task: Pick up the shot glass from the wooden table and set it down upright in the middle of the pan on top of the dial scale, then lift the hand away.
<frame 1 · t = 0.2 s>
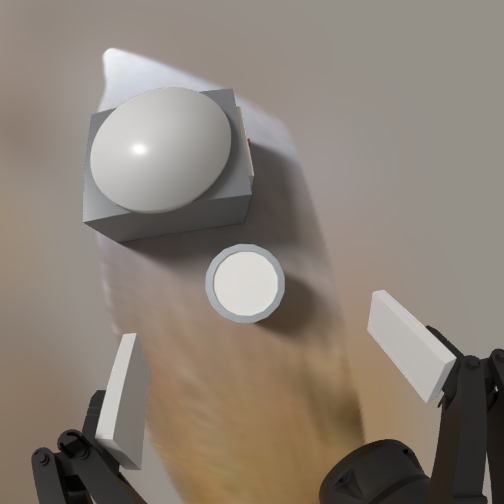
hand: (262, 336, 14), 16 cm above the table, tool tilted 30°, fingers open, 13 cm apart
shot glass: (240, 287, 31), on the table
dial scale: (174, 184, 32), on the table
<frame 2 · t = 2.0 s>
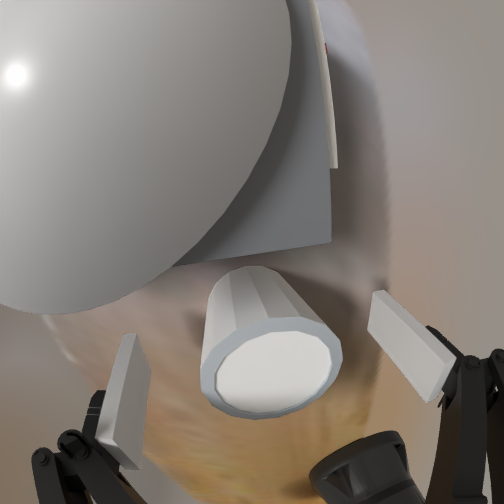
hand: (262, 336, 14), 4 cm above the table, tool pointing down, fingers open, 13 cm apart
shot glass: (250, 302, 18), on the table
dial scale: (123, 113, 13), on the table
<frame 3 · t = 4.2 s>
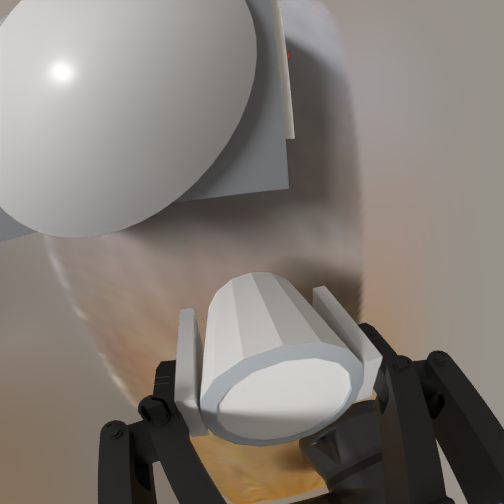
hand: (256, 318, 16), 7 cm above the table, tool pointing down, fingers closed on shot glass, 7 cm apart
shot glass: (255, 313, 16), point 6 cm above the table, touching gripper
dial scale: (136, 101, 16), on the table
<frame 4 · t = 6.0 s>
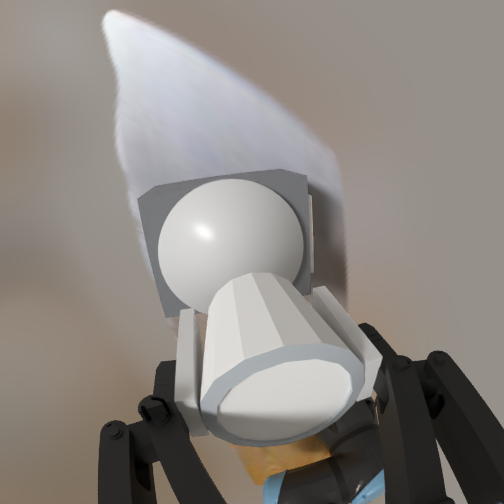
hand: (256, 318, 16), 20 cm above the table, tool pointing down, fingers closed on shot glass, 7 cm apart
shot glass: (255, 313, 16), point 19 cm above the table, touching gripper
dial scale: (224, 225, 34), on the table
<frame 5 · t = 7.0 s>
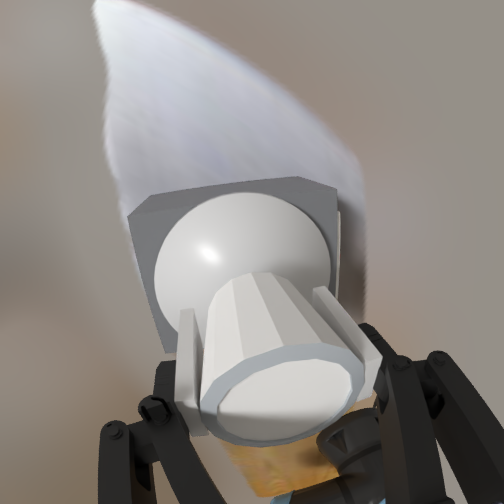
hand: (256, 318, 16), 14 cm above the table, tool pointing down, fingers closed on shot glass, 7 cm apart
shot glass: (255, 313, 16), point 14 cm above the table, touching gripper
dial scale: (231, 241, 29), on the table
when the fingers open (11 cm above the table, at t = 8.1 s): shot glass stays where it is, resting on dial scale.
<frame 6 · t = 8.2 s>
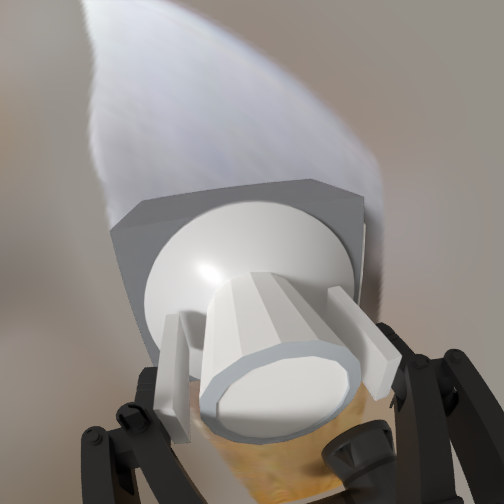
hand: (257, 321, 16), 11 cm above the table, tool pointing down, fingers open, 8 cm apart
shot glass: (254, 312, 16), point 10 cm above the table, touching dial scale
dial scale: (235, 253, 26), on the table
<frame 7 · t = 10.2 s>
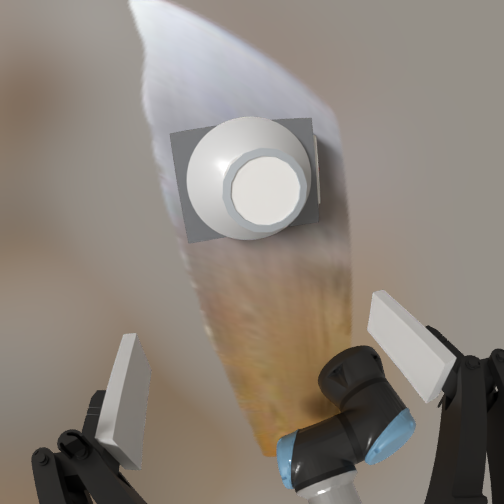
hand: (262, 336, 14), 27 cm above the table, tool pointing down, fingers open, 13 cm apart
shot glass: (250, 179, 28), point 10 cm above the table, touching dial scale
dial scale: (238, 170, 37), on the table
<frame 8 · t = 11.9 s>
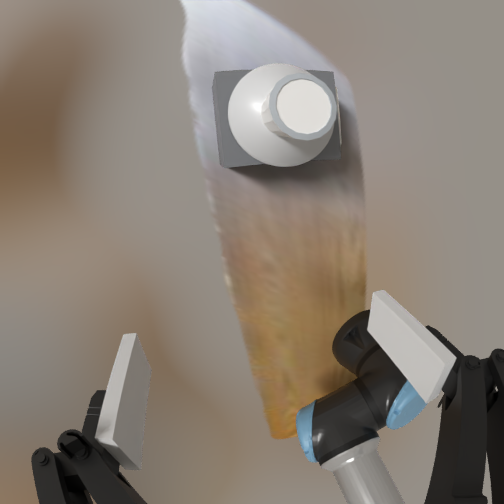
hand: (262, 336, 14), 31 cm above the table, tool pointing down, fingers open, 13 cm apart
shot glass: (283, 113, 30), point 10 cm above the table, touching dial scale
dial scale: (265, 121, 39), on the table
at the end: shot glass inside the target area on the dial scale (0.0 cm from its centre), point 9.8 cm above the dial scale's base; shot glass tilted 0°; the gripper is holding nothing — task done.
